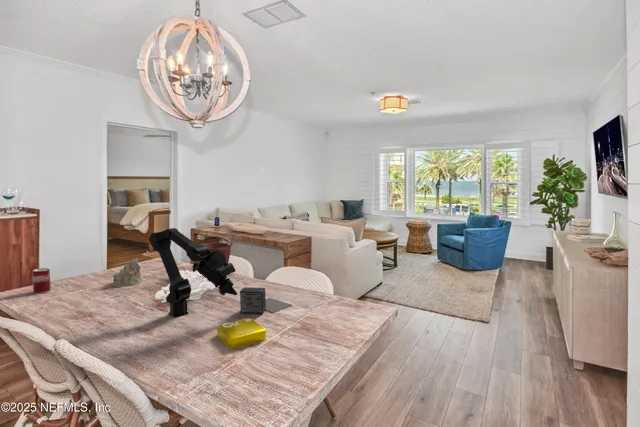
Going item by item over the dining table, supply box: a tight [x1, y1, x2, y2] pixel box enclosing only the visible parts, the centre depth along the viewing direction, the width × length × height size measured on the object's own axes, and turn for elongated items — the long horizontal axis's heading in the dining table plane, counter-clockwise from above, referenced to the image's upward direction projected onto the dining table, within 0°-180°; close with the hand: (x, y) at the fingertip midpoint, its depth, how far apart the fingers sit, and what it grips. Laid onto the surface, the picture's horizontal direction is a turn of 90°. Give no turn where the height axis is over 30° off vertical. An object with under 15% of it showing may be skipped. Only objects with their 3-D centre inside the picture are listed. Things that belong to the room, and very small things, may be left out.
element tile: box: [216, 317, 267, 350], centre depth 136 cm, size 15×15×5 cm
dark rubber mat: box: [265, 297, 293, 314], centre depth 171 cm, size 13×16×1 cm
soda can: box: [31, 267, 52, 295], centre depth 185 cm, size 7×7×12 cm
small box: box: [239, 286, 267, 315], centre depth 162 cm, size 11×6×10 cm, turn 84°
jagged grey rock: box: [112, 257, 144, 288], centre depth 203 cm, size 16×16×15 cm
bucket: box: [193, 234, 234, 269], centre depth 222 cm, size 24×22×25 cm
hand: (236, 294), depth 155 cm, fingers closed
